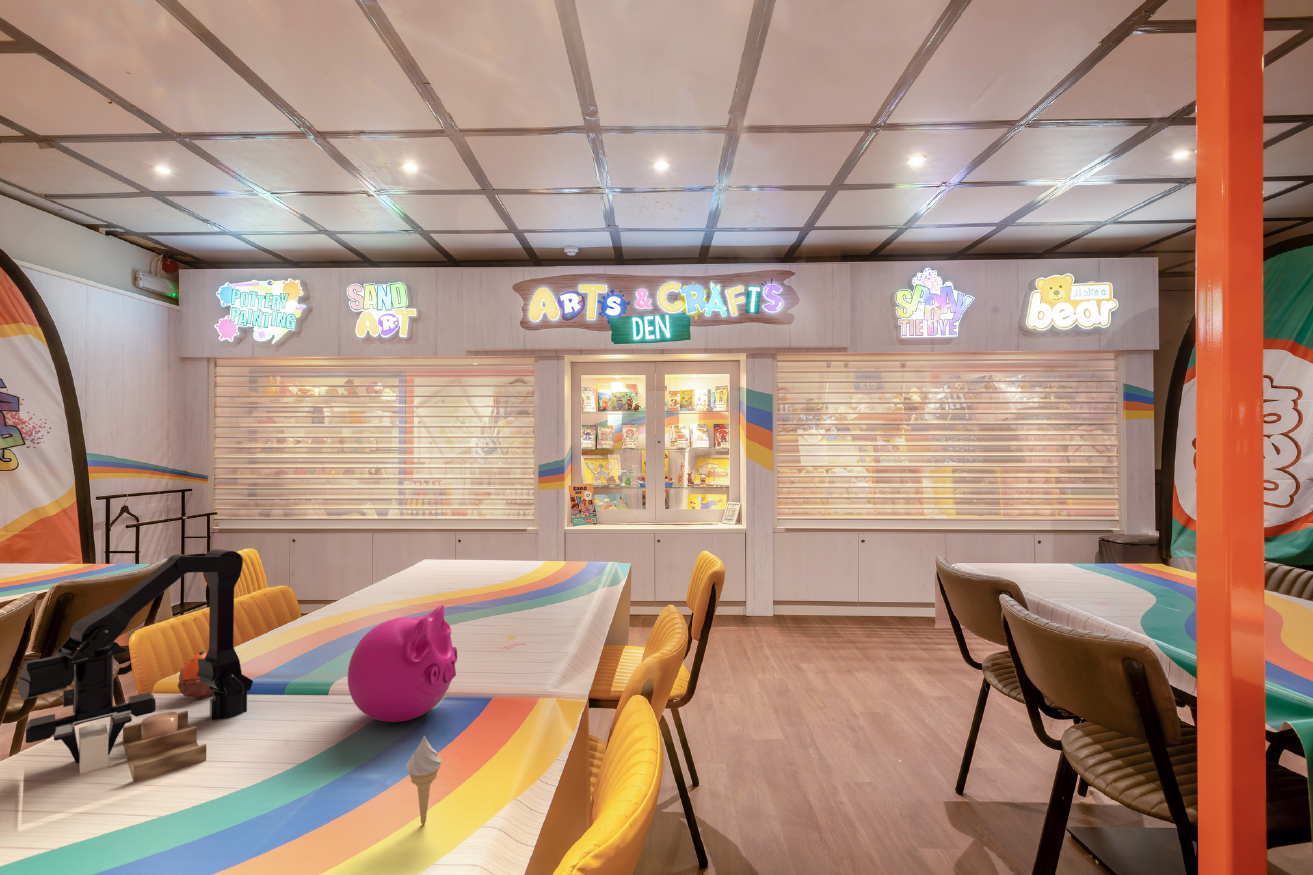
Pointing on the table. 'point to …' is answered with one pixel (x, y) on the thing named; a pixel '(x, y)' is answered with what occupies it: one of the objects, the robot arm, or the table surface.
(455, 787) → the table surface
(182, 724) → the rack
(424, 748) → the ice cream cone
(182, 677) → the orange rounded lump
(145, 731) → the peach rounded capsule
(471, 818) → the table surface
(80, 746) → the cream rectangular block
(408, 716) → the figurine
